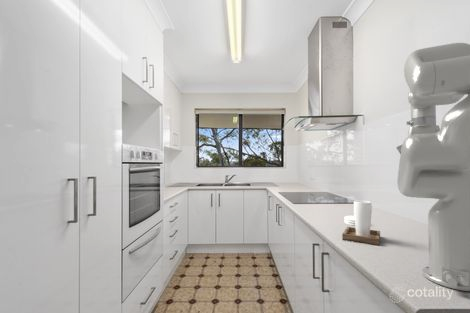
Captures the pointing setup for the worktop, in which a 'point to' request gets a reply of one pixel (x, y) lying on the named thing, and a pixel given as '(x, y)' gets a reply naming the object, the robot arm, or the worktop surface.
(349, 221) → the white cup lid
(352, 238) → the tray
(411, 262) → the worktop surface
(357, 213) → the white tall cup
